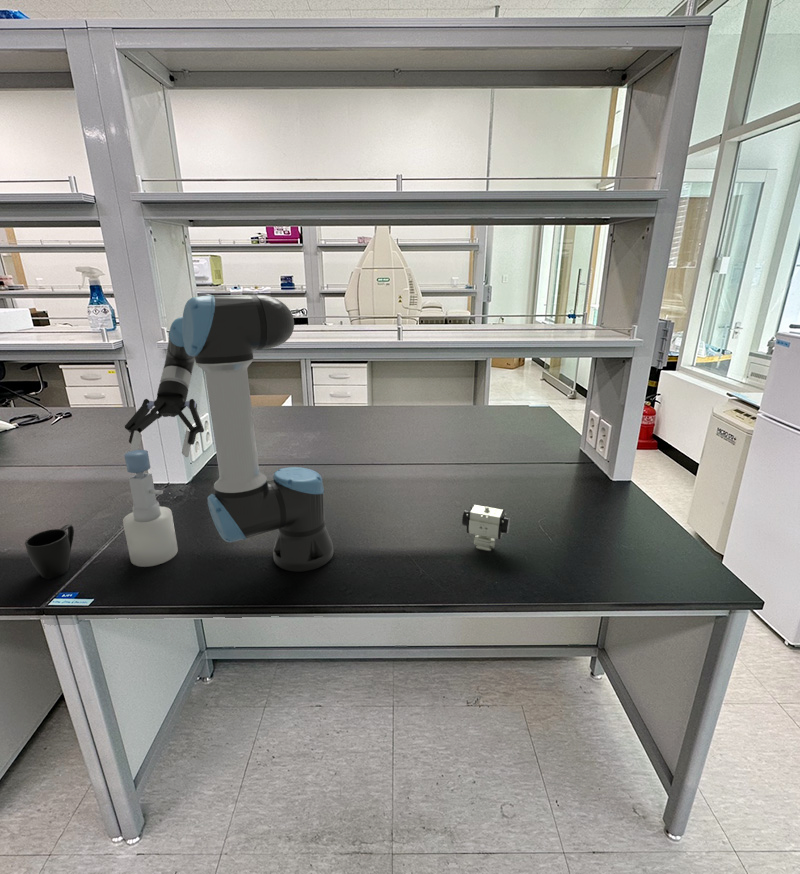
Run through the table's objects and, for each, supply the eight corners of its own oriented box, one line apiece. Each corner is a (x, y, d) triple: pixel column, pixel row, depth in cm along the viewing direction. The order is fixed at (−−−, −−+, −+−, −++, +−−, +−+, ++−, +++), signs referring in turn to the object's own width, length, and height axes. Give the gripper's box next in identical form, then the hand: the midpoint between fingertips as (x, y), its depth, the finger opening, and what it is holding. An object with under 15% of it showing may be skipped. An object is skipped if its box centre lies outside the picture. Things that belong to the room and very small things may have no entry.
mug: (93, 554, 125) (86, 522, 122) (58, 583, 114) (49, 547, 111) (63, 553, 126) (55, 520, 123) (25, 581, 114) (15, 545, 111)
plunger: (160, 498, 123) (152, 450, 118) (147, 507, 118) (138, 457, 114) (142, 497, 123) (133, 449, 119) (129, 506, 119) (119, 456, 114)
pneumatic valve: (464, 538, 134) (467, 499, 130) (507, 547, 130) (511, 507, 126) (459, 548, 129) (461, 508, 125) (504, 558, 125) (507, 516, 121)
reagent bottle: (186, 545, 130) (174, 468, 123) (161, 568, 120) (146, 487, 112) (148, 541, 131) (134, 466, 124) (120, 564, 121) (103, 483, 114)
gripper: (223, 393, 141) (211, 460, 132) (135, 393, 140) (117, 460, 131) (214, 379, 134) (201, 449, 125) (123, 378, 133) (103, 449, 124)
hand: (158, 455), depth 128 cm, fingers open, 13 cm apart
